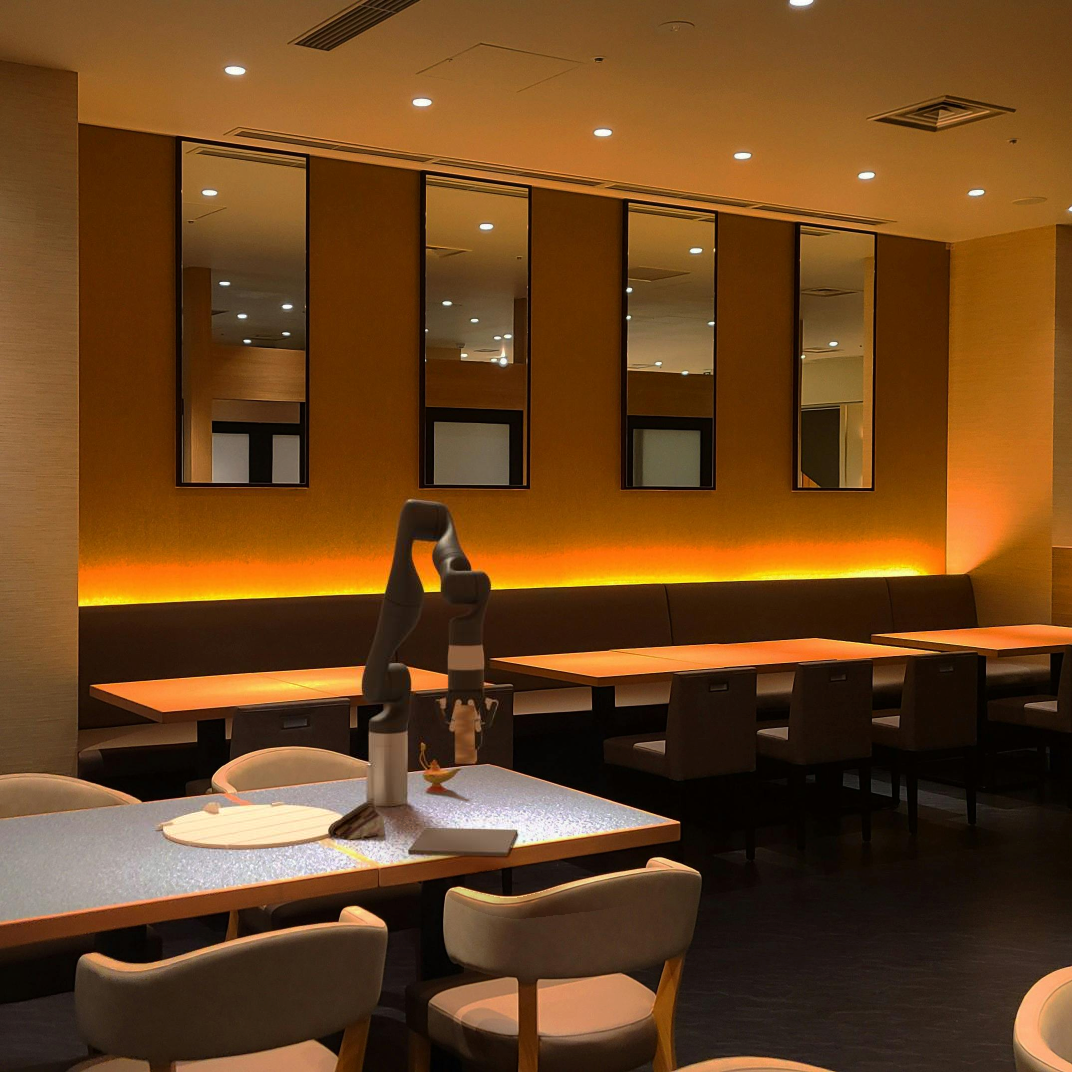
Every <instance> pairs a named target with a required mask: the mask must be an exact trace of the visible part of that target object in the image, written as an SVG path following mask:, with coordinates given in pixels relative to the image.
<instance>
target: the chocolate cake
mask: <svg viewBox="0 0 1072 1072" xmlns="http://www.w3.org/2000/svg"><path fill="white" fill-rule="evenodd" d="M342 816H343V817H342V818H341V819H339V820H338V821H335V822H334V823H332V824H331V825H330V827H329V829H328V833H329V834H330V835H331V836H330V837H338V836H339V837H340V838H342V839H343V840H344V841H348V840H349V841H350V840H355V839H361V840H368V838H369V837H374V836H377V837H381V836H384V835H385V833H386V828H385V821H384V818H383V816H382V815H381V814H380V813H379V812H378V811H377V808H376V806H375V805H374V799H373V798H371V799H369V800H368V801H367V800H366V801H365V802H363V803H362V804H359V806H357V807H356V808H354V809H352V810H350V812H348V813H346V814H345V815H342Z"/></svg>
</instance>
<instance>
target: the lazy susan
mask: <svg viewBox="0 0 1072 1072" xmlns="http://www.w3.org/2000/svg"><path fill="white" fill-rule="evenodd" d="M343 816H344V815H342V814H340V813H338V812H335V811H332V810H328V809H326V808H320V807H313V806H304V805H290V804H289V805H288V804H286V803H285V802H283V801H279V802H278V801H277V802H273V803H270V804H255V805H253V804H252V805H239V806H227V807H226V806H225V807H221V804H220V803H218V802H209V803H207V804H206V805H205V806H204V807H203V809H202V810H201V811H196V812H192V813H188V814H184V815H181V816H178V817H175V818H174V819H171V820H169V821H166V822H165V821H164V822H160V823H159V824H156V829H157V830H161V829H162V835H163V836H164V837H165V838H166V839H168V840H170V841H172V842H174V843H178V844H181V845H186V846H190V847H197V846H198V847H199V848H209V849H222V850H223V849H230V850H231V849H232V850H233V849H235V850H237V849H238V850H241V849H243V850H244V849H248V850H249V849H251V850H252V849H265V848H268V849H269V848H280V847H287V846H294V844H295V845H300V843H302V844H305V843H310V842H315V841H319V840H324V839H326V838H330V837H332V836H331V835H330V834H329V833H328V829H329V827H330V825H331V824H332V823H334V822H335V821H338V820H339V819H341V818H342V817H343Z"/></svg>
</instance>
